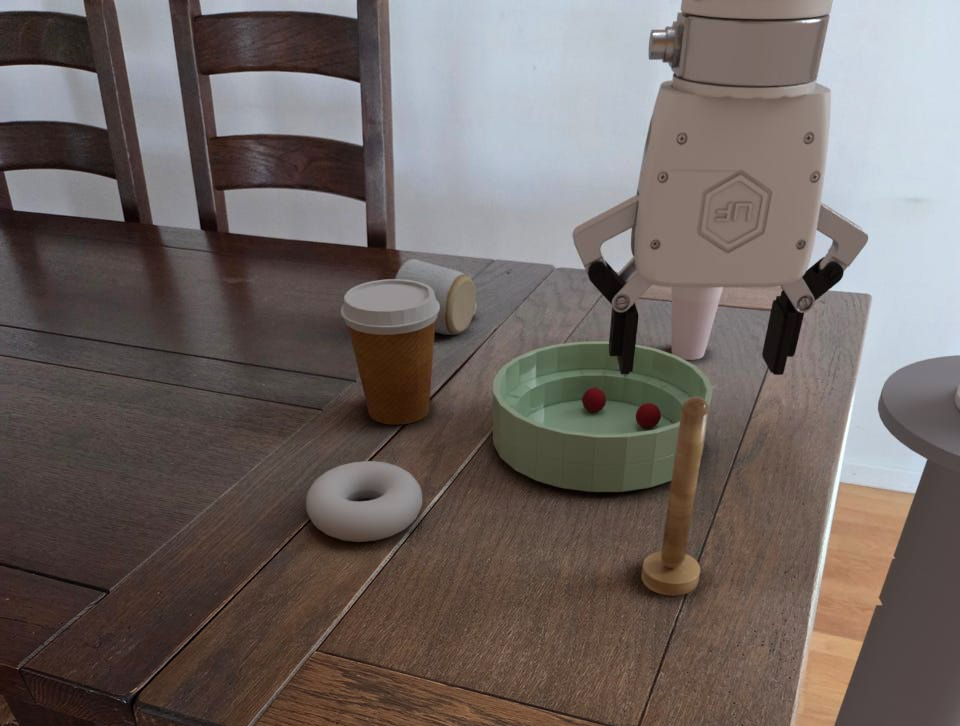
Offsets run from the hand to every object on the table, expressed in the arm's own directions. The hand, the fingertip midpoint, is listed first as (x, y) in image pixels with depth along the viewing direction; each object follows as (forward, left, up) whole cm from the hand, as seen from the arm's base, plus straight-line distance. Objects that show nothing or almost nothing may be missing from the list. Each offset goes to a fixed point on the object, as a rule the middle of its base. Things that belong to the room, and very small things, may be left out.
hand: (697, 366), depth 58 cm
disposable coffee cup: (+24, -29, -18) cm, 42 cm away
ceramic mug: (+21, -52, -18) cm, 59 cm away
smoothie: (-8, -43, -18) cm, 47 cm away
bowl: (+4, -22, -18) cm, 29 cm away
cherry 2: (-1, -24, -16) cm, 29 cm away
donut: (+25, -9, -18) cm, 32 cm away
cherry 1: (+4, -28, -16) cm, 32 cm away
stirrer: (0, 0, -18) cm, 18 cm away
